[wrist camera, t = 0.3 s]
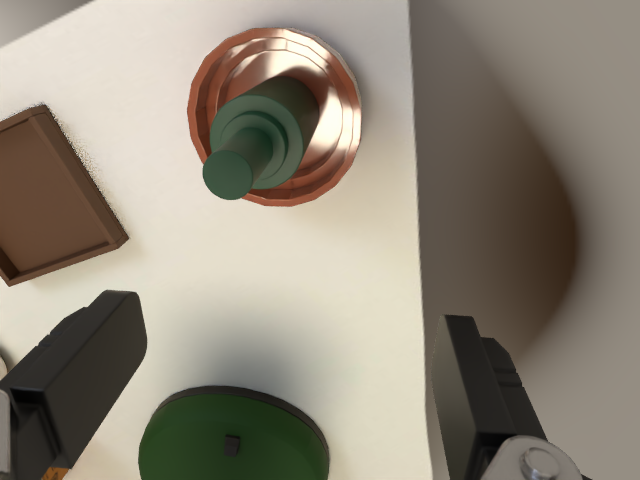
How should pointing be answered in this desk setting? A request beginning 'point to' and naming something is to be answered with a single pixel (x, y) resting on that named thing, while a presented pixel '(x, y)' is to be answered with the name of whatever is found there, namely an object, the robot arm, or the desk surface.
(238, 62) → the bowl
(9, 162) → the tray
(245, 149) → the bottle
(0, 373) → the teacup
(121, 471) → the desk surface
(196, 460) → the desk lamp
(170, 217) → the desk surface
